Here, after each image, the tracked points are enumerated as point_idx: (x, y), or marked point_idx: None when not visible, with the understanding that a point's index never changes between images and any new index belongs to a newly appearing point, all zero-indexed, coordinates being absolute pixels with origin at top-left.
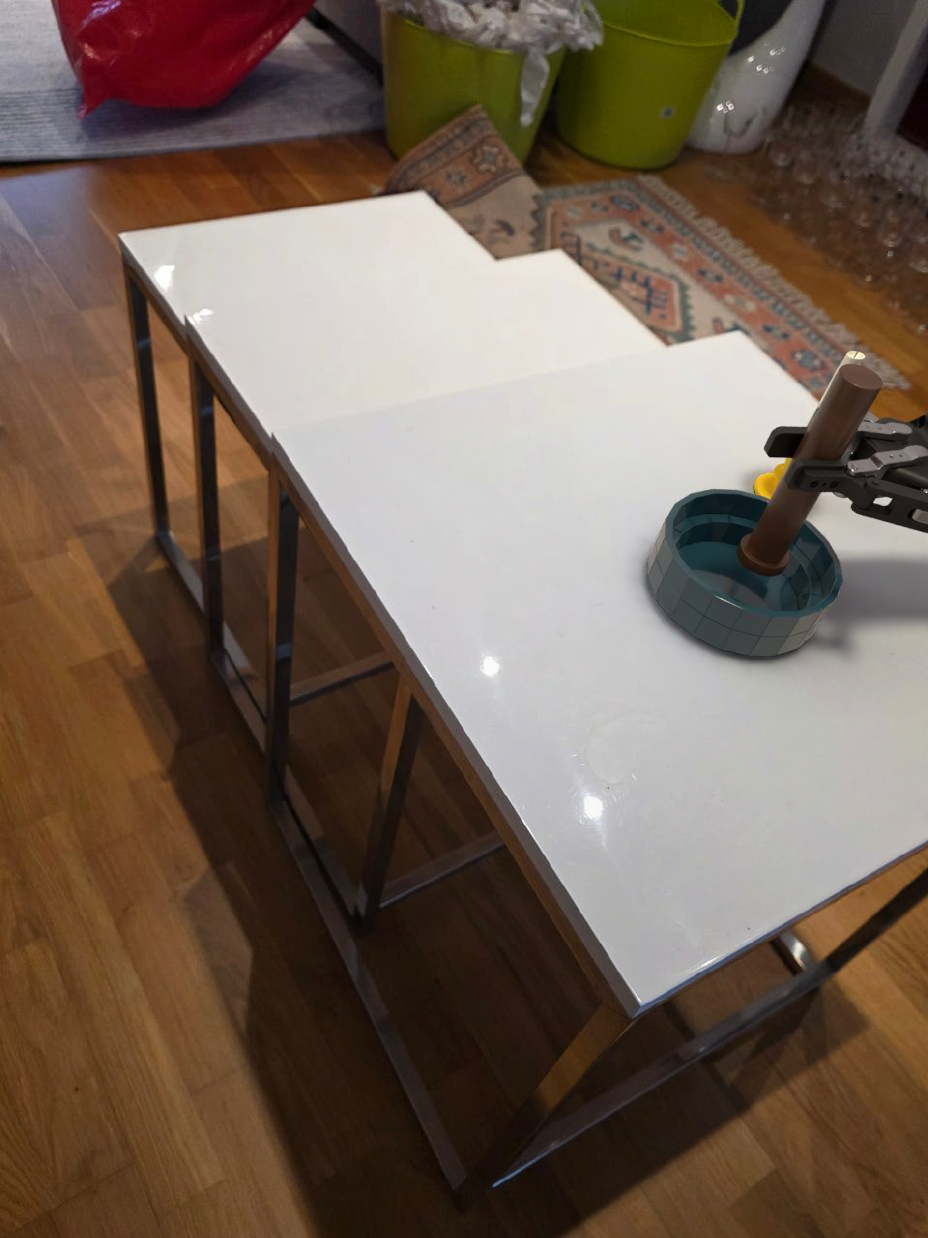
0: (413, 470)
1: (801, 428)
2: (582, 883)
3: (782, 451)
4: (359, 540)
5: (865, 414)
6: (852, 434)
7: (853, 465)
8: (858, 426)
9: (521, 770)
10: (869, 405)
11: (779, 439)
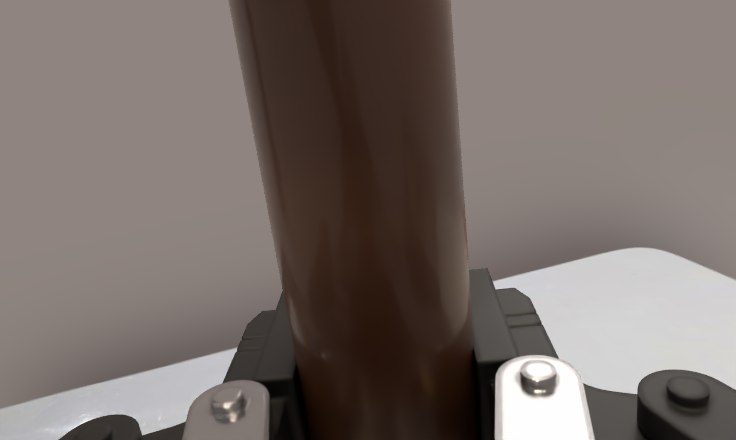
0: (649, 312)
1: (500, 313)
2: (26, 409)
3: None
4: (497, 286)
5: (264, 152)
6: (278, 252)
7: (229, 389)
8: (276, 219)
9: (168, 378)
10: (248, 92)
11: None
